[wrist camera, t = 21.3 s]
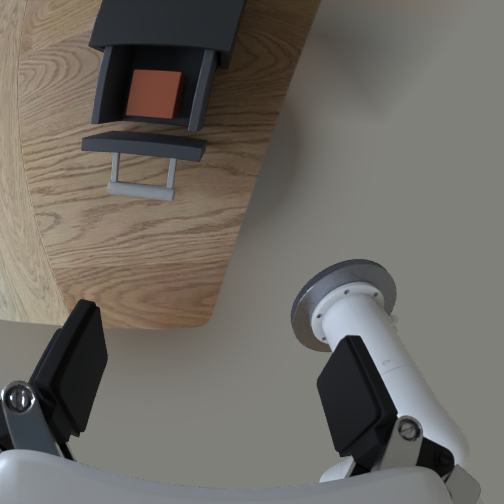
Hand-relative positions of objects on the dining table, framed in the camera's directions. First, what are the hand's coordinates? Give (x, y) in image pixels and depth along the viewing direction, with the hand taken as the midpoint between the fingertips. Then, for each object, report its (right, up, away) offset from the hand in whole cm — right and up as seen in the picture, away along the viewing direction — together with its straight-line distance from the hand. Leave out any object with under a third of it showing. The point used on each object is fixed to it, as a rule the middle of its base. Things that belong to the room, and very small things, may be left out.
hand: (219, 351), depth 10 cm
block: (-8, +20, +15) cm, 26 cm away
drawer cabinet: (-6, +31, +12) cm, 34 cm away
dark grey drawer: (-9, +20, +17) cm, 27 cm away
